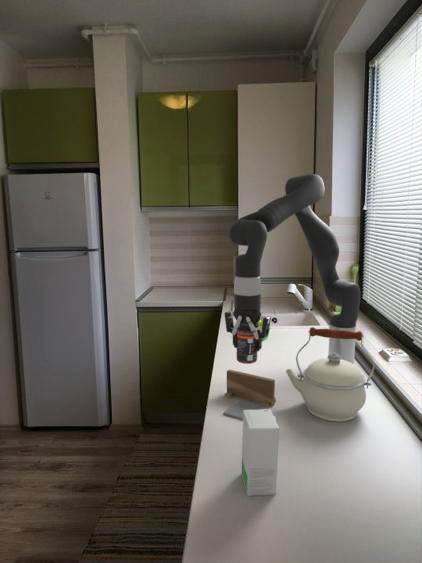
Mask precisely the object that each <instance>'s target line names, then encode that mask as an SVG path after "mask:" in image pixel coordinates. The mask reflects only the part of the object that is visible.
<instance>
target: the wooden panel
mask: <svg viewBox="0 0 422 563" xmlns="http://www.w3.org/2000/svg"><path fill="white" fill-rule="evenodd" d="M275 385H276V380H275V379H274V378H268V377H264V376H260V375H255V374H250V373H246V372H242V371H238V370H233V369H227V370H226V392H225V393H224V398H226V399H232V398H233V397H234V398H238V399H241V400H245V401H248V402H249V401H250V402H252V403H256V404H261V406H265V407H269V408H271V407H273V406H274V405H275V403H276V401H277V397H275V393H276V392H275V391H276V390H275V388H276V387H275Z"/></svg>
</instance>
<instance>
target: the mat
mask: <svg viewBox="0 0 422 563" xmlns="http://www.w3.org/2000/svg"><path fill="white" fill-rule="evenodd" d="M259 409H270V407H265V406H262V404H261V405H260V404H259V403H255V402H251V401H250V402H249V401H248V400H244V399H238V400H237V401H236V402H235V403H233V404H232V405H231V406H229V407H228V408H227V409H226V410H224V411H223V412H222V415H223V416H227V417H231V418H234V419H237V420H240V421H243V410H259Z"/></svg>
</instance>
